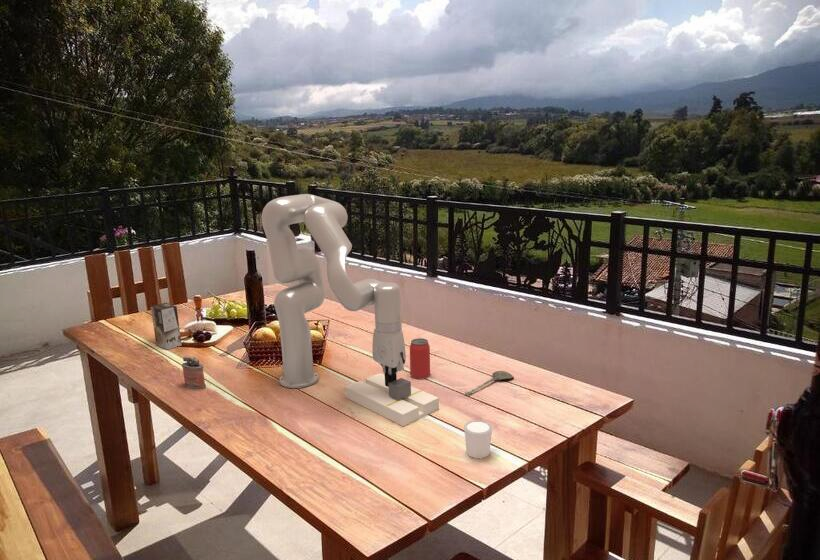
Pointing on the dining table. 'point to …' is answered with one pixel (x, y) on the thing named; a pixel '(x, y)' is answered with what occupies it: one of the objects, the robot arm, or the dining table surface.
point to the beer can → (419, 358)
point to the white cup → (478, 438)
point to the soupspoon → (496, 376)
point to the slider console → (391, 400)
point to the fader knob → (399, 388)
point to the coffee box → (166, 325)
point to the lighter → (193, 373)
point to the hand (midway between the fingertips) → (391, 385)
